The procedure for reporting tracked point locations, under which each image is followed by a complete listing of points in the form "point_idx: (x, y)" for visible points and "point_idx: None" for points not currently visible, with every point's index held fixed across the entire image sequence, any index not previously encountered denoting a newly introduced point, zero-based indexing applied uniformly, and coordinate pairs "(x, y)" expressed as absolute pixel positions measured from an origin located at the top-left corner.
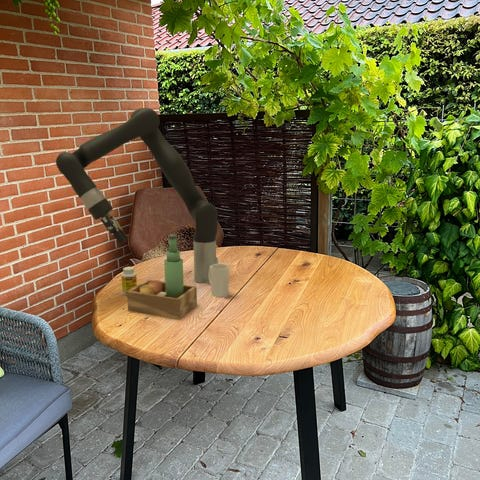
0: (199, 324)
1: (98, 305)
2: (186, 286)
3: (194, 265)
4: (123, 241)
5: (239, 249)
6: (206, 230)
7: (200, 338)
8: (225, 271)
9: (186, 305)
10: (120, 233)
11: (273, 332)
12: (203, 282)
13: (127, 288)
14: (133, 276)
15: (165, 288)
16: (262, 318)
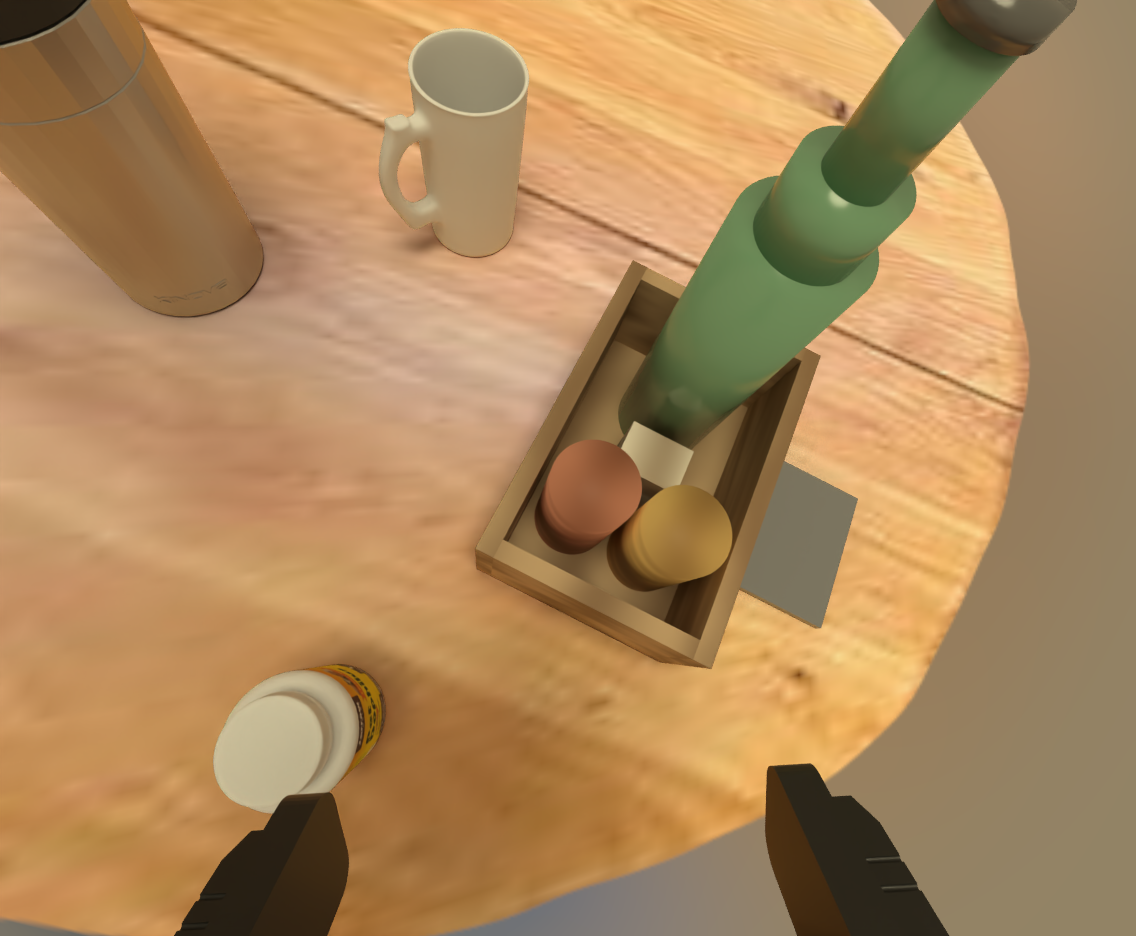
0: None
1: (533, 899)
2: (625, 309)
3: (138, 246)
4: (347, 868)
5: None
6: None
7: (880, 337)
8: (516, 72)
9: None
10: (855, 927)
11: (815, 126)
12: (257, 272)
13: (377, 728)
14: (341, 686)
15: (721, 411)
16: (712, 128)
